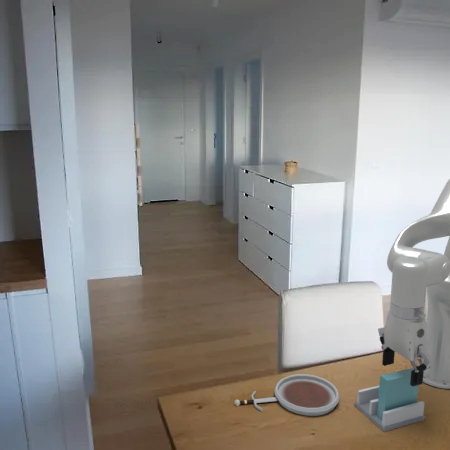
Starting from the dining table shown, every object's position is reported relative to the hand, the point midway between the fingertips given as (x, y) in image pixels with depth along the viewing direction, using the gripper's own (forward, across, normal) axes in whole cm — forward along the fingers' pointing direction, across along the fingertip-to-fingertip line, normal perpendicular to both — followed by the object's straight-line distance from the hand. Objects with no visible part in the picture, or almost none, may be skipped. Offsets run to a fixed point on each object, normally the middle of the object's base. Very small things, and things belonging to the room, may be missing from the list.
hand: (401, 374), depth 116 cm
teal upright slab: (+11, -1, +1) cm, 11 cm away
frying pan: (+12, +16, +23) cm, 30 cm away
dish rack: (+12, +2, +1) cm, 12 cm away
